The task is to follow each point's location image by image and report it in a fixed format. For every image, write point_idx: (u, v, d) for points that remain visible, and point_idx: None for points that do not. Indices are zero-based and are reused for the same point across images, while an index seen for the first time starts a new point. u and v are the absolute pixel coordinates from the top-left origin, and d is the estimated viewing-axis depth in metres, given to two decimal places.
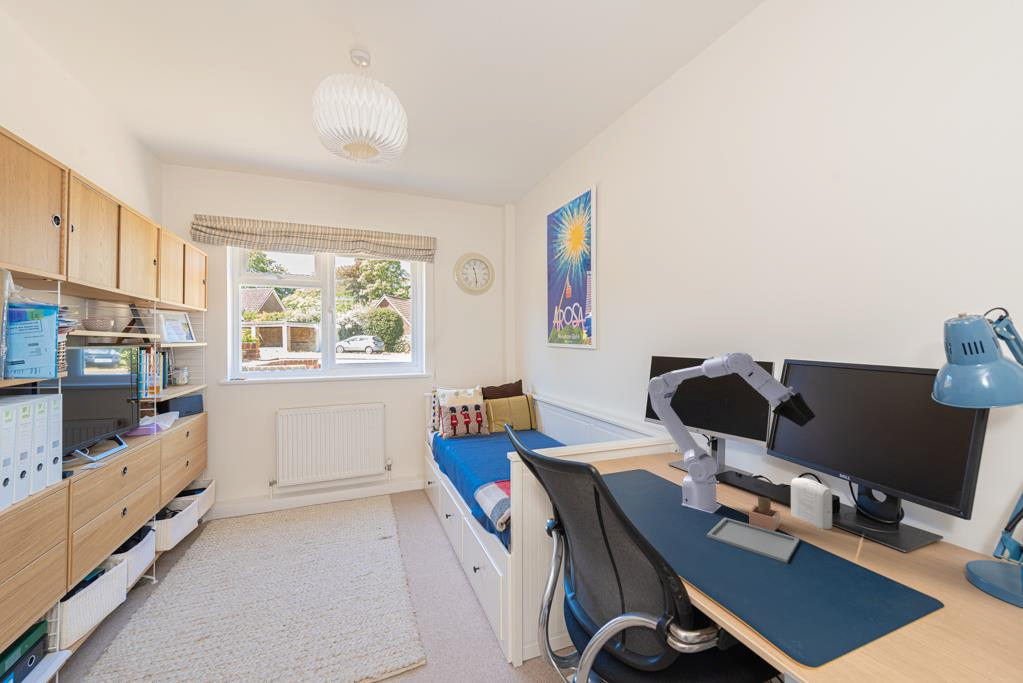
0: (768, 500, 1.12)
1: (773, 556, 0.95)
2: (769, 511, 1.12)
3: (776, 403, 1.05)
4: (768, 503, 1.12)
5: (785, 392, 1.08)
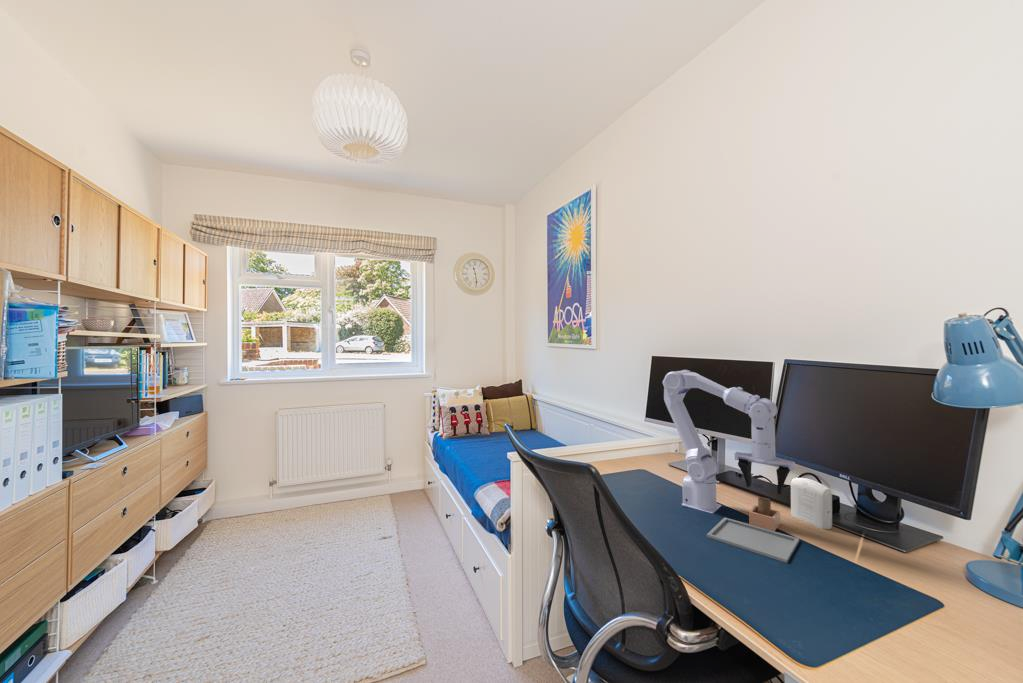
0: (768, 500, 1.12)
1: (773, 556, 0.95)
2: (769, 511, 1.12)
3: None
4: (768, 503, 1.12)
5: (752, 459, 1.13)
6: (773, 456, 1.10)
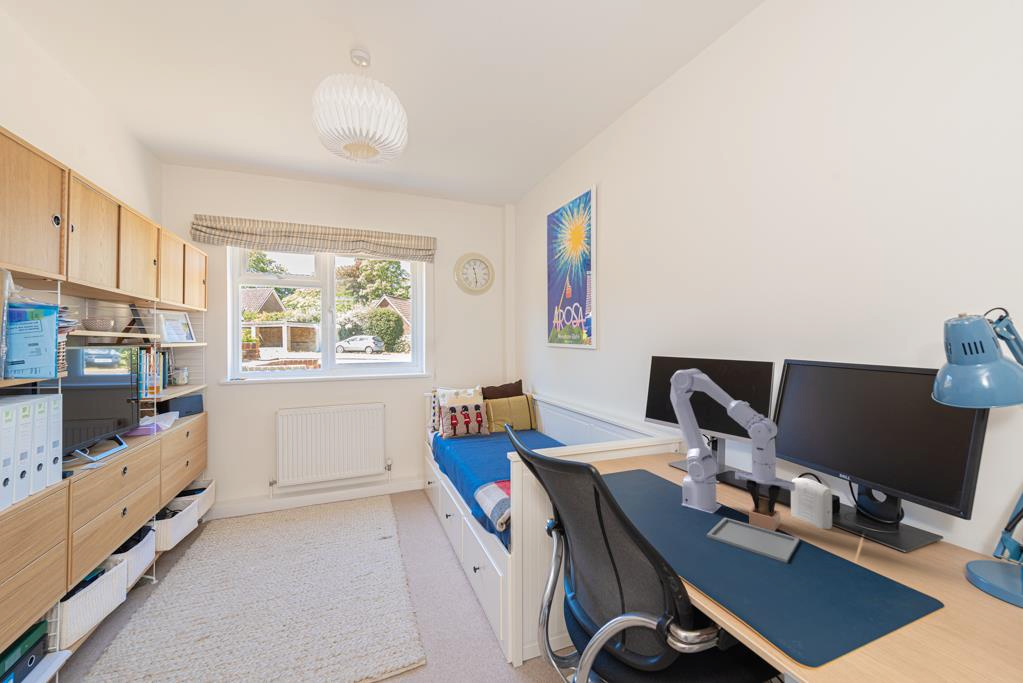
0: (768, 500, 1.12)
1: (773, 556, 0.95)
2: None
3: None
4: (768, 503, 1.12)
5: (753, 479, 1.13)
6: (773, 476, 1.10)
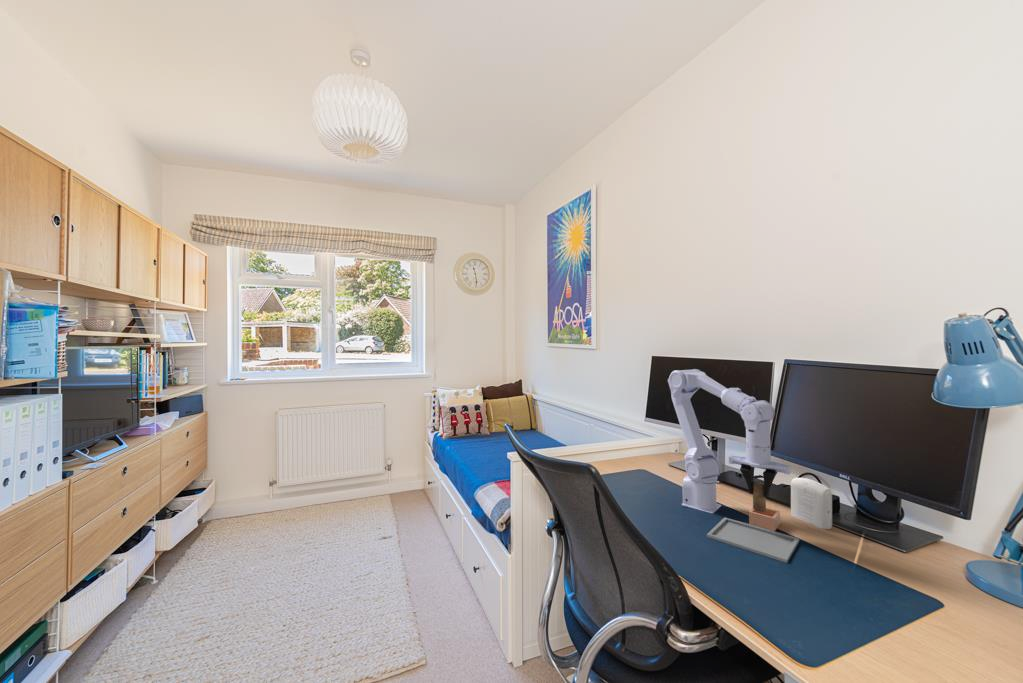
0: (763, 484, 1.09)
1: (773, 556, 0.95)
2: None
3: None
4: (763, 487, 1.08)
5: (747, 463, 1.09)
6: (768, 460, 1.07)
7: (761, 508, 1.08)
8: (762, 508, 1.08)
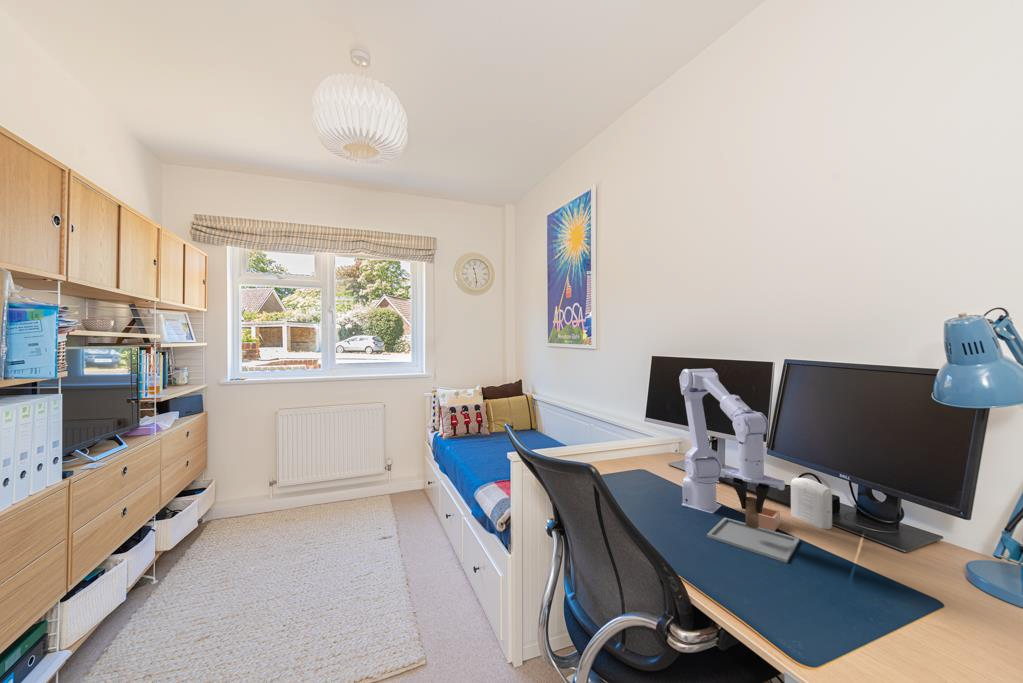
0: (756, 500, 1.04)
1: (773, 556, 0.95)
2: None
3: None
4: (756, 503, 1.03)
5: (739, 477, 1.04)
6: (761, 474, 1.02)
7: (754, 524, 1.03)
8: (755, 525, 1.03)
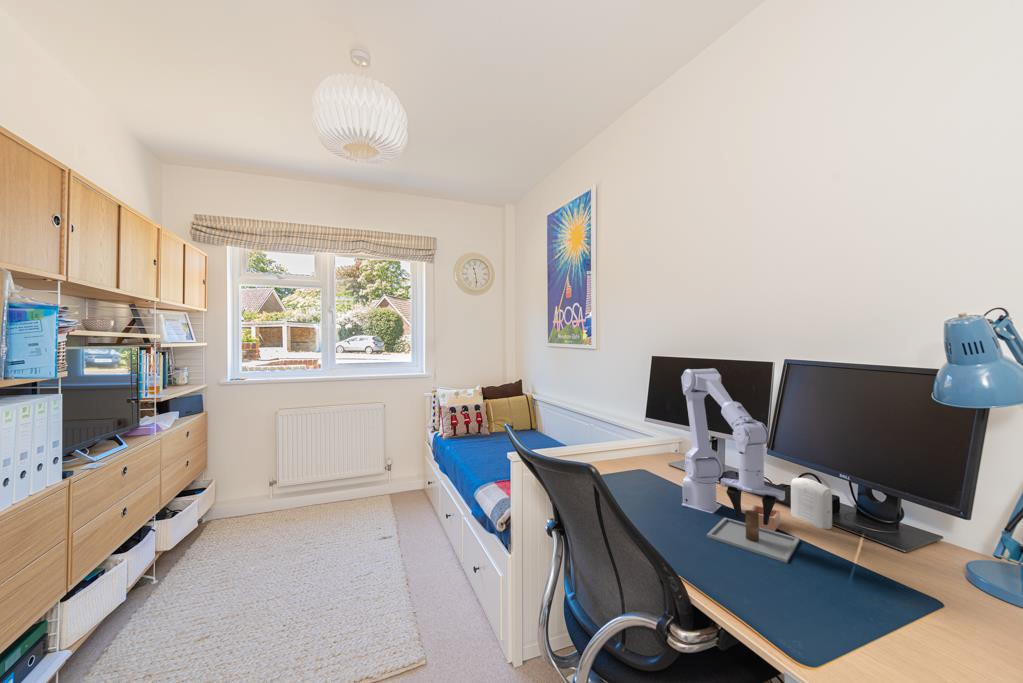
0: (756, 513, 1.04)
1: (773, 556, 0.95)
2: (757, 525, 1.03)
3: None
4: (756, 517, 1.03)
5: (739, 487, 1.04)
6: (761, 484, 1.02)
7: (754, 538, 1.03)
8: (755, 538, 1.03)
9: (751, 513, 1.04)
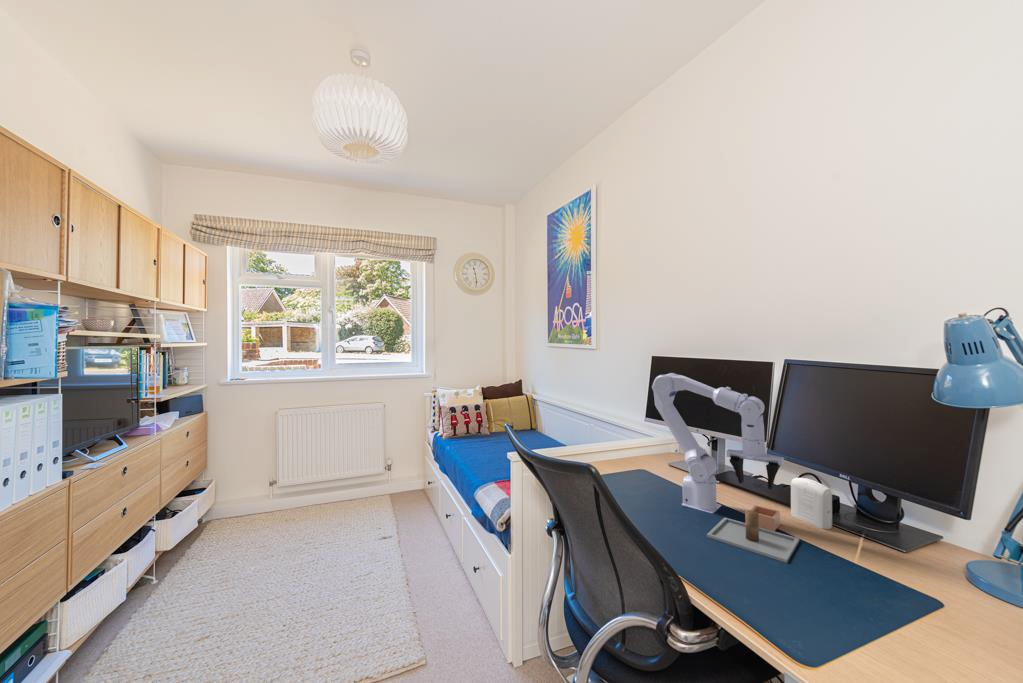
0: (756, 513, 1.04)
1: (773, 556, 0.95)
2: (757, 525, 1.03)
3: None
4: (756, 517, 1.03)
5: (743, 455, 1.16)
6: (763, 452, 1.14)
7: (754, 538, 1.03)
8: (755, 538, 1.03)
9: (751, 513, 1.04)
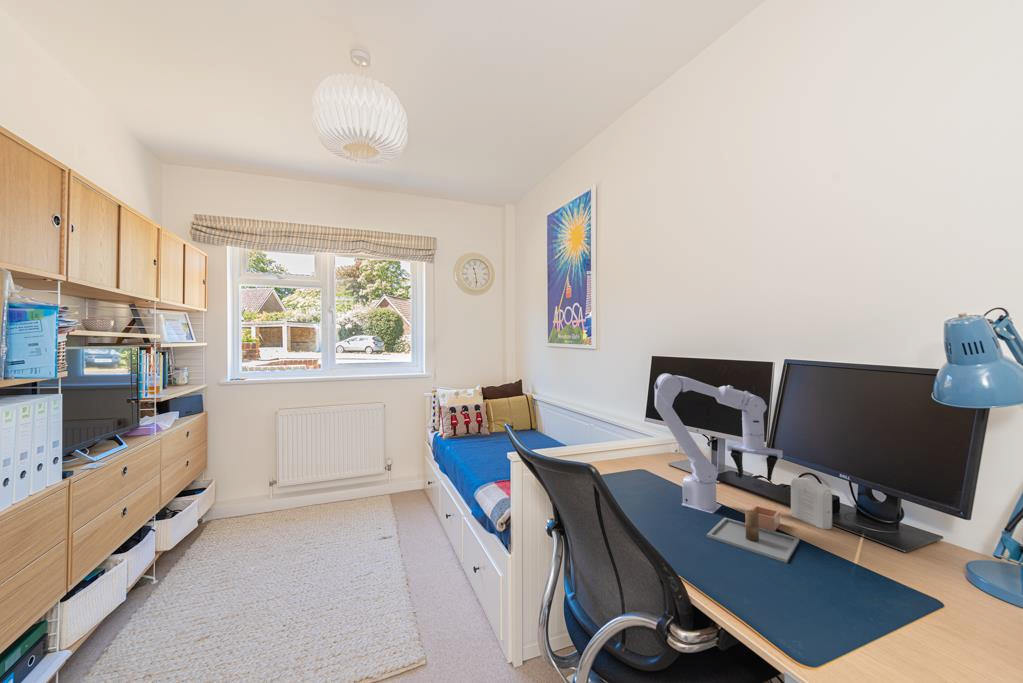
0: (756, 513, 1.04)
1: (773, 556, 0.95)
2: (757, 525, 1.03)
3: None
4: (756, 517, 1.03)
5: (744, 449, 1.22)
6: (763, 446, 1.20)
7: (754, 538, 1.03)
8: (755, 538, 1.03)
9: (751, 513, 1.04)
